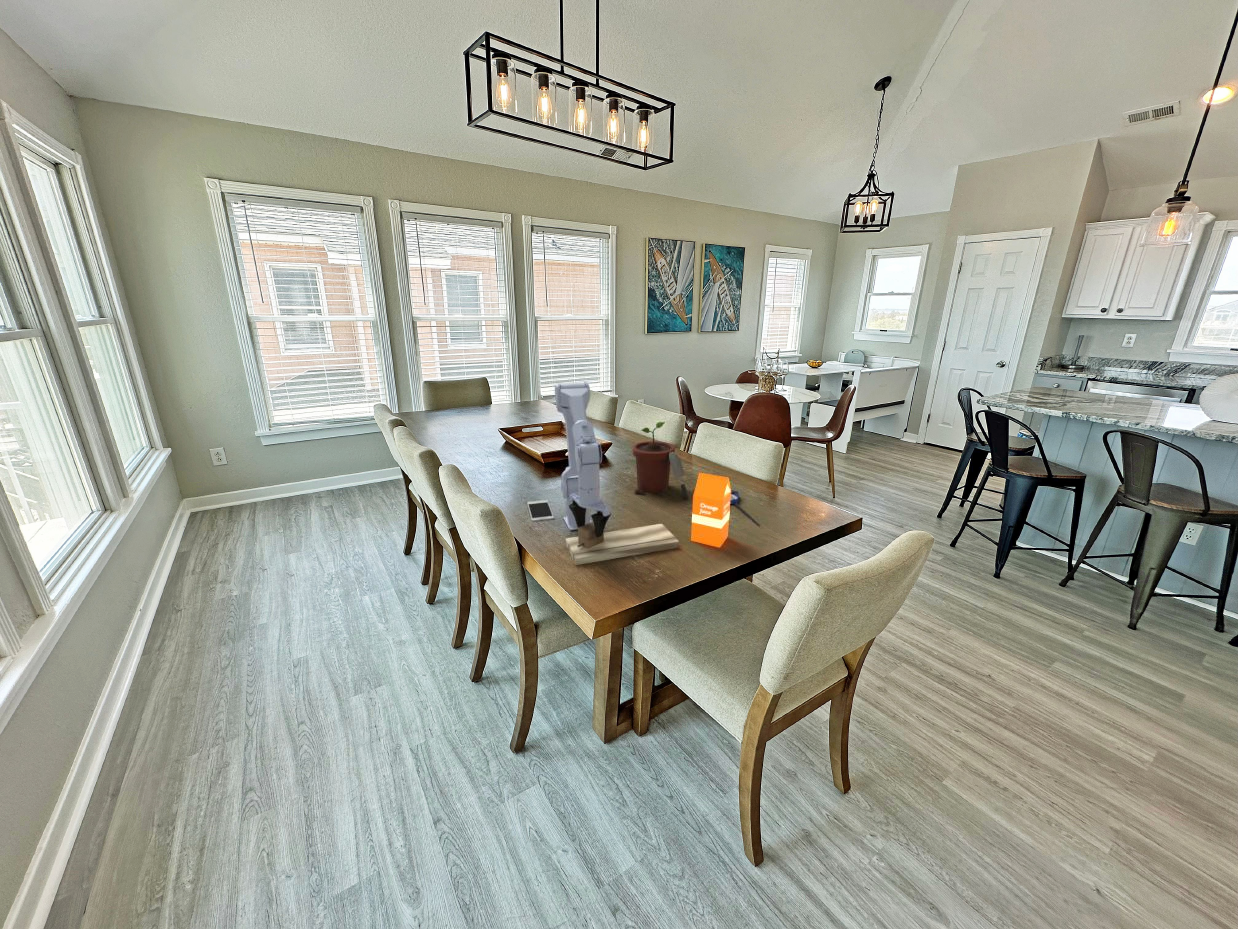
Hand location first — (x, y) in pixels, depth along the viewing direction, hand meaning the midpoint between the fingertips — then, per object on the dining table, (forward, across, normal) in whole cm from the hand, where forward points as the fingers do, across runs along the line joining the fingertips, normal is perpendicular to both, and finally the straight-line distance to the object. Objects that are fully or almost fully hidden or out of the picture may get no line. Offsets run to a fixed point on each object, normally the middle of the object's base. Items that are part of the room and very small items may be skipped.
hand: (590, 531), depth 133 cm
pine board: (+6, -5, -8) cm, 11 cm away
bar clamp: (+6, -17, -52) cm, 55 cm away
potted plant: (+6, +16, -48) cm, 51 cm away
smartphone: (+6, +32, -6) cm, 33 cm away
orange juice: (+6, -20, -29) cm, 36 cm away
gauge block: (+4, 0, 0) cm, 4 cm away
